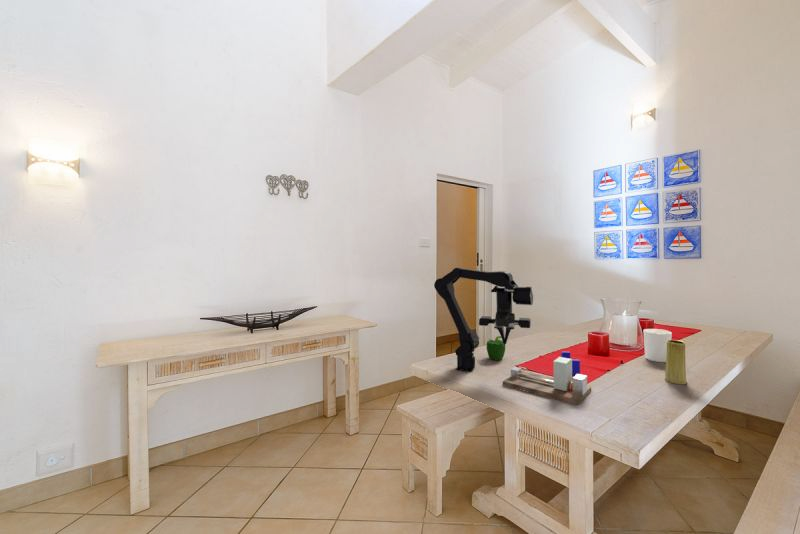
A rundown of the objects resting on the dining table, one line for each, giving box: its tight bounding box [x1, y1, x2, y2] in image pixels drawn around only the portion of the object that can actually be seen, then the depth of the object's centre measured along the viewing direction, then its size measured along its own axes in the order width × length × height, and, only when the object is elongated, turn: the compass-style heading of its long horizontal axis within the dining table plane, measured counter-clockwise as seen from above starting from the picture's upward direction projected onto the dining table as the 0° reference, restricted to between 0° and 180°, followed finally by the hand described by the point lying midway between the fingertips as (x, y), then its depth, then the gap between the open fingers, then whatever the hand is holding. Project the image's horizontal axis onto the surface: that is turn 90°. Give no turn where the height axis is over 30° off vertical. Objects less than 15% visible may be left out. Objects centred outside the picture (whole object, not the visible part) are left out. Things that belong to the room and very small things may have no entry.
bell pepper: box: [486, 335, 506, 361], centre depth 155 cm, size 8×8×10 cm
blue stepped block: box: [560, 351, 581, 375], centre depth 138 cm, size 12×4×6 cm, turn 172°
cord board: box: [502, 370, 592, 406], centre depth 121 cm, size 25×14×2 cm, turn 47°
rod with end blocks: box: [510, 366, 588, 396], centre depth 121 cm, size 24×5×6 cm, turn 47°
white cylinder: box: [642, 328, 673, 363], centre depth 148 cm, size 10×10×12 cm
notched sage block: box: [552, 356, 573, 391], centre depth 117 cm, size 4×6×9 cm, turn 137°
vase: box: [664, 339, 687, 385], centre depth 123 cm, size 6×6×14 cm
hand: (504, 343), depth 134 cm, fingers closed
